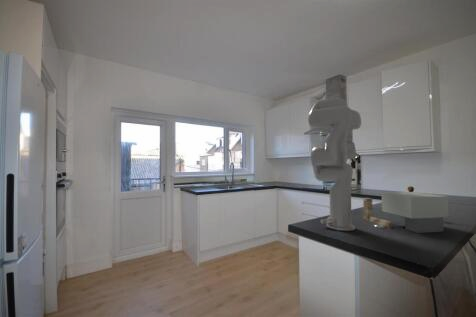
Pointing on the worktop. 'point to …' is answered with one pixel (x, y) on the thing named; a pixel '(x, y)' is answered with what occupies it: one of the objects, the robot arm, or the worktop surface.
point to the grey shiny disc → (379, 226)
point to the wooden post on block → (369, 216)
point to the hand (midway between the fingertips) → (345, 168)
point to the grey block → (417, 210)
